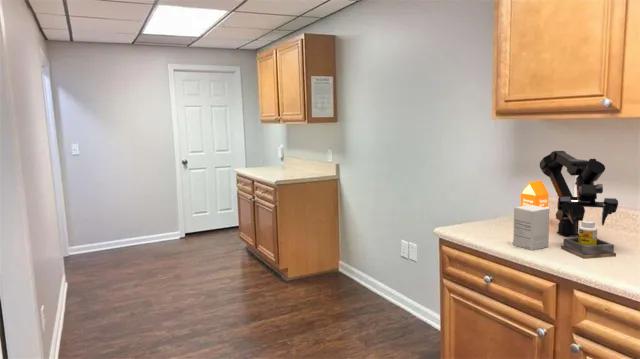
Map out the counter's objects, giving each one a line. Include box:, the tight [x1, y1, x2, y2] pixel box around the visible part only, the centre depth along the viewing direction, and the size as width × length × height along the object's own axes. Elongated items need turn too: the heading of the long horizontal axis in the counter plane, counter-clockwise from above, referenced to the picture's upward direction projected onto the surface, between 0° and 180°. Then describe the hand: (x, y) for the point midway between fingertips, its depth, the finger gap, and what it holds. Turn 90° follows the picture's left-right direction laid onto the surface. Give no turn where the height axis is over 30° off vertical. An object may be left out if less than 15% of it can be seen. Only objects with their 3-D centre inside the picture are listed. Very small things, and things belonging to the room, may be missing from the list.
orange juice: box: [520, 180, 550, 208], centre depth 198 cm, size 8×9×20 cm
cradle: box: [560, 236, 617, 260], centre depth 158 cm, size 12×12×4 cm
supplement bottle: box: [578, 219, 598, 246], centre depth 158 cm, size 6×6×10 cm
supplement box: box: [512, 205, 550, 251], centre depth 168 cm, size 9×9×15 cm
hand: (588, 224), depth 158 cm, fingers open, 9 cm apart
